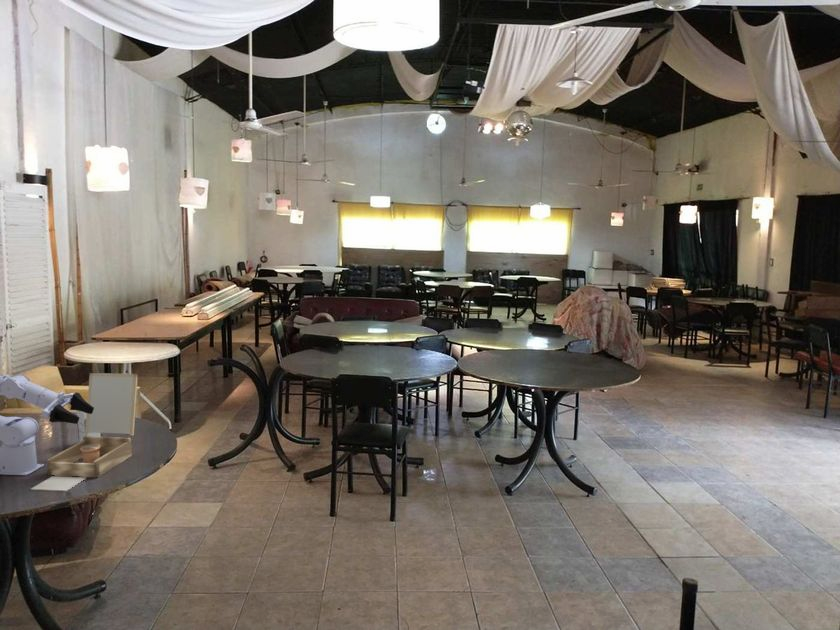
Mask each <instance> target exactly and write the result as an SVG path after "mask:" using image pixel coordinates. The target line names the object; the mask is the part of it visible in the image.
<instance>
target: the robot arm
mask: <svg viewBox="0 0 840 630" xmlns="http://www.w3.org/2000/svg"><path fill="white" fill-rule="evenodd" d="M0 396H5V398H6V399H9V400H10V399H18V400H22V401H24V402H27V403H28V404H31V405H34V406H36V407H38V408H41V409H42V412H41V415H40V416H41V417H43V418H45V419H48V420H49V422H50V423H69V424H73V425H74V424H75V425H77V423H78V421H79V418H80V417H78V416H77V415H76V414H75V413H73V412H71V411H76V410H78V411H82V412H85V413H88V414H92V413H93V410H94V407H92V406H91V405H90V404H89V403H87V402H88V401H86V400H85V399H84V398H83V396H82V395H81V393H79V392H78V391H77V392H75V393H74V392H71V393H65V392H64V391H61V392H55V391H53V390H51V389H49V388H46V387H44V386H41V385H39V384H38V383H37V384H36V383H35V382H32V381H31V380H30V378H29V377H27V375H25V374H24V375H23V374H20V373H19V374H16V375H14V376H10V375H9V374H4V375H0ZM68 404H69V405H70V408H69V410H70V411H69V410H68V409H66V408H65V406H67V405H68ZM39 429H40V426H39V424H38V421H37V420H36V419H34V418H32V417H31V416H30V417H29V416H26V417H19V416H3V415H0V441H1V442H2V444H1V446H0V475H5V476H7V475H9V476H29V475H30V474H32V473H33V472H36V471H37V470H40V469H41V468H43V467H45V464H44V463H38V459H37V458H38V457H37V447H36V441H35V439H36V435H37V434H38V432H39Z"/></svg>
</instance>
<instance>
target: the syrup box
mask: <svg viewBox="0 0 840 630" xmlns="http://www.w3.org/2000/svg"><path fill="white" fill-rule="evenodd" d="M86 402H87V403H88V401H86ZM75 411H76V414H75V415H77V416H78V417H80V418H79V421H78V423H77V424H76V425H77V435H78V437H77V438H78V443H79V442H81V441H83V437H85V436H91V437H103V433H90V434H85V429H86V416H87V413H85V412H82V411H78V410H75Z"/></svg>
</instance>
